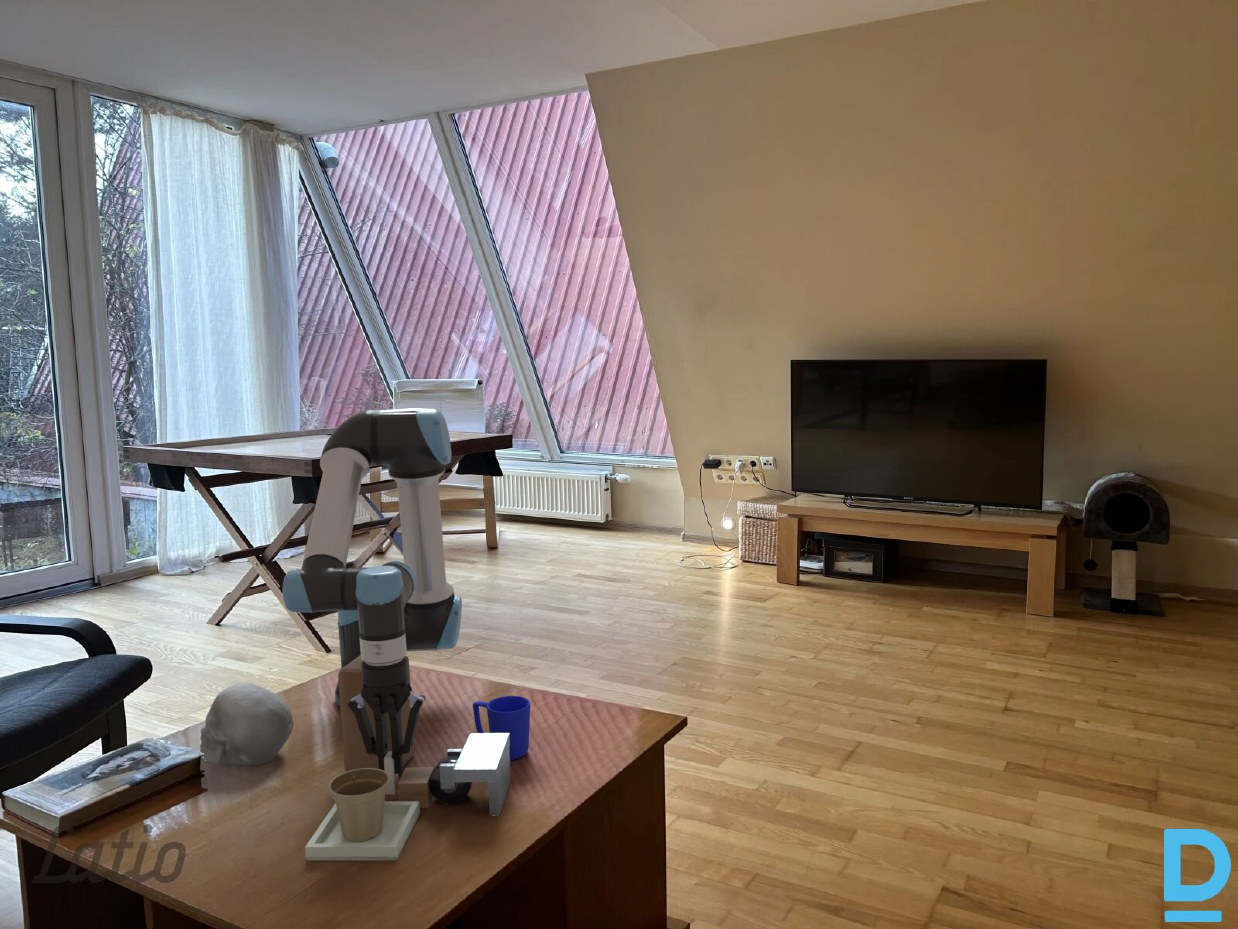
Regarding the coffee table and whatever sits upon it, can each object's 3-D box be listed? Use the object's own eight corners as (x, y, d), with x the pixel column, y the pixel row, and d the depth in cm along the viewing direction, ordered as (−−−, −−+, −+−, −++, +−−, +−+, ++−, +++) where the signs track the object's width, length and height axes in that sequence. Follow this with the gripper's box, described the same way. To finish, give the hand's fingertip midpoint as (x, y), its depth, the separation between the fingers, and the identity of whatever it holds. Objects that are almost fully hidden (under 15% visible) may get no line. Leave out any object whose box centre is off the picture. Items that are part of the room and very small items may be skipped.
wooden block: (394, 779, 168) (387, 673, 165) (342, 775, 170) (335, 670, 167) (416, 755, 178) (410, 654, 175) (368, 751, 180) (361, 651, 177)
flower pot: (396, 841, 146) (392, 789, 145) (333, 853, 143) (329, 800, 142) (390, 813, 155) (386, 763, 154) (330, 824, 152) (327, 774, 150)
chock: (407, 792, 163) (405, 767, 163) (435, 791, 163) (434, 766, 163) (399, 809, 158) (397, 784, 157) (428, 808, 158) (427, 783, 157)
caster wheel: (442, 779, 167) (439, 733, 166) (511, 779, 167) (509, 733, 166) (423, 819, 153) (420, 769, 152) (498, 819, 153) (496, 769, 152)
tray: (337, 814, 156) (336, 801, 156) (420, 813, 155) (419, 801, 155) (306, 860, 142) (305, 847, 142) (396, 860, 142) (395, 846, 141)
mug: (488, 738, 184) (486, 690, 183) (540, 749, 179) (538, 699, 177) (463, 755, 177) (460, 705, 176) (516, 767, 171) (514, 715, 170)
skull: (226, 737, 188) (227, 666, 186) (304, 755, 184) (306, 684, 181) (180, 766, 176) (180, 691, 173) (262, 787, 171) (264, 710, 169)
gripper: (338, 667, 154) (348, 802, 157) (417, 666, 153) (425, 801, 157) (352, 652, 161) (361, 780, 164) (427, 650, 161) (435, 780, 164)
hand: (392, 790), depth 161 cm, fingers closed
